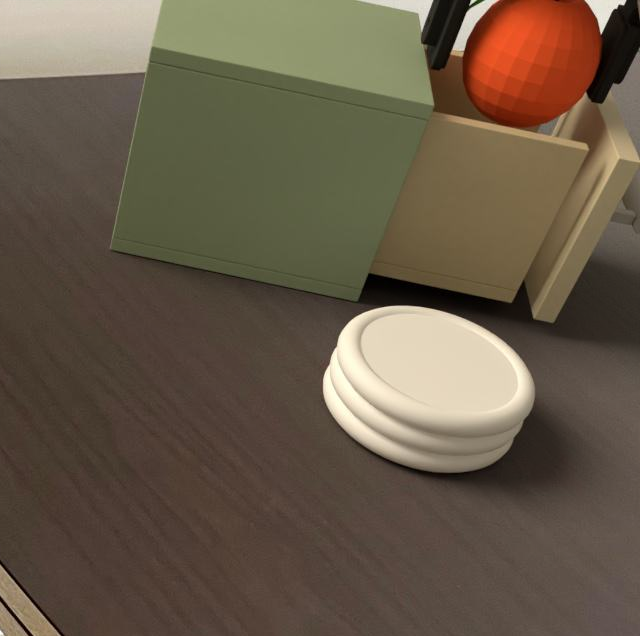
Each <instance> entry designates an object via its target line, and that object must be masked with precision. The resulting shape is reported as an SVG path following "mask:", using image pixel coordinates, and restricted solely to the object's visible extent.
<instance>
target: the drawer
mask: <svg viewBox="0 0 640 636" xmlns="http://www.w3.org/2000/svg"><path fill="white" fill-rule="evenodd" d="M424 48H425V54H426V60H427V65H428V71H429V77H430V83H431V88H432V94H433V100H434V109H433V111H432V114H431V116H430V119H429V120H428V124H427V126H426V129H425V131H424V134H423V136H422V139H421V141H420V144H419V146H418V149H417V152H416V154H415V157H414V159H413V162H412V164H411V167H410V169H409V172H408V174H407V177H406V179H405V182H404V185H403V187H402V190H401V192H400V195H399V197H398V200H397V202H396V205H395V207H394V210H393V212H392V215H391V217H390V220H389V223H388V225H387V228H386V230H385V233H384V235H383V238H382V240H381V243H380V245H379V248H378V250H377V253H376V256H375V258H374V261H373V263H372V266H371V268H370V271H369V273H368V274H372V275H377V276H381V277H386V278H391V279H395V280H400V281H405V282H409V283H415V284H419V285H424V286H429V287H433V288H437V289H442V290H447V291H452V292H457V293H461V294H467V295H470V296H475V297H480V298H485V299H488V300H489V299H490V300H495V301H500V302H504V303H508V304H512V303H513V301H514V300H515V298H516V296H517V293H518V291H519V289H520V287H521V285H522V283H523V282H524V286H525V290H526V293H527V294H526V295H527V298H528V303H529V306H530V311H531V314H532V319H533V320H536V321H540V322H546V323H551V324H554V323H555V321H556V320H557V318H558V316H559V314H560V312H561V310H562V308H563V306H564V305H565V303H566V301H567V299H568V298H569V295H570V294H571V292H572V290H573V288H574V286H575V285H576V283H577V281H578V279H579V277H580V276H581V274H582V273H583V270H584V269H585V266H586V265H587V263H588V261H589V259H590V257H591V255H592V253H593V252H594V250H595V248H596V247H597V244H598V243H599V241H600V240H601V237H602V235H603V233H604V232H605V230H606V228H607V226H608V224H609V222H614V223H618V224H623V225H628V226H631V227H632V229H633V231H634V232H635V233H636V234H638V235H640V176H639V173H638V172H637V171H638V169H639V168H640V156H639V154H638V152H637V149H636V147H635V145H634V142H633V140H632V138H631V135H630V133H629V131H628V128H627V126H626V124H625V121H624V119H623V117H622V114H621V112H620V110H619V107H618V105H617V103H616V100H615V98H614V95H613V93H612V90H610V91H609V93H608V95H607V97H606V99H605V101H604V102H603V103H602V104H598V103H593V102H591V100H590V99H589V98H588V96H587V93H586V92H585V94H584V95H583V97H582V98H581V99H580V100H579V101H578V102H577V103H576V104H575V105H574V106H573V107H572V108H571V109H570V110H569V111H567V112H566V113H564V114H562V115H560V116H559V117H558V120H557V123H556V125H555V126H554V129H553V130H552V133H551V134H550V135H547V134H543V133H538V132H539V129H540V128H541V125H537V126H533V127H528V128H517V127H509V126H504V125H500V124H498V123H496V122H494V121H492V120H490V119H488V118H486V117H485V116H483V115H482V114H481V113H480V112H479V111H478V110H477V109H476V107H475V106H474V105H473V103H472V102H471V100H470V99H469V97H468V95H467V93H466V89H465V86H464V83H463V63H462V57H463V53H464V51H461V50H457V49H452V51H451V54H450V57H449V59H448V62H447V64H446V67H445V68H444V69H441V70H440V71H437V70H433V69H430V67H429V61H428V56H427V45H424ZM621 201H622V204H623V206H624V208H621V207H618V206H619V204H620V202H621Z"/></svg>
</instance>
